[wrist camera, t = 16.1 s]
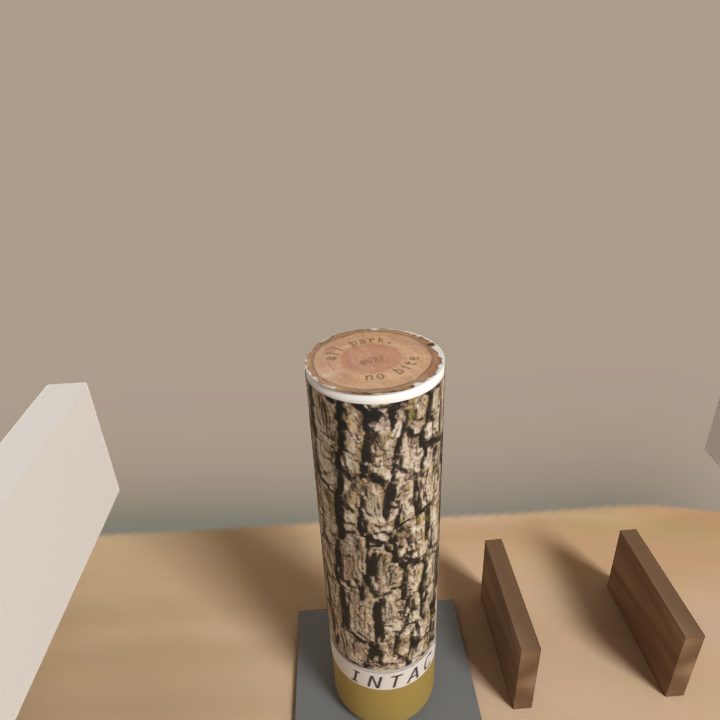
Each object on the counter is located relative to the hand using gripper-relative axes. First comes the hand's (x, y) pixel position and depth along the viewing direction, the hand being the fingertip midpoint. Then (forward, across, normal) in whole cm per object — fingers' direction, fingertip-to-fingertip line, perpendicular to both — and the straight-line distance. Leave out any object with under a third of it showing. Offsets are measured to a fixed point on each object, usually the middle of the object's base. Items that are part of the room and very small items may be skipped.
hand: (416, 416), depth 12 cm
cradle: (+17, +14, -32) cm, 39 cm away
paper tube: (+15, 0, -32) cm, 35 cm away
